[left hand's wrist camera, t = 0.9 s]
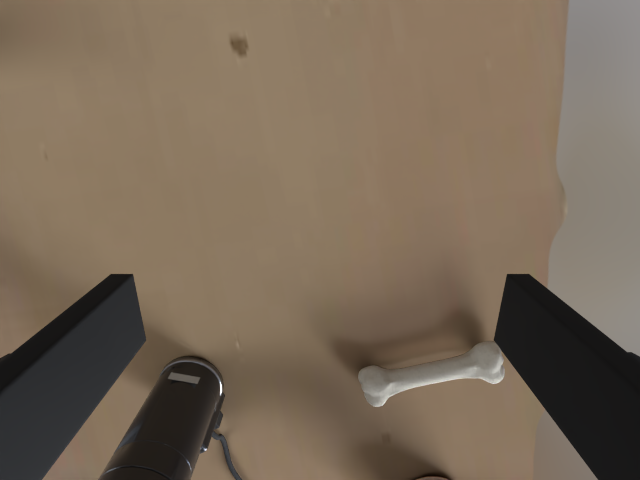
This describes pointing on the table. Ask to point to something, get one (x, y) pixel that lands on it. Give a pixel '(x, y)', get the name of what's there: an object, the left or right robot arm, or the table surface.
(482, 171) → the table surface
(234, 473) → the right robot arm
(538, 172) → the table surface
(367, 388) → the dog toy
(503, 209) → the table surface
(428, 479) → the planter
